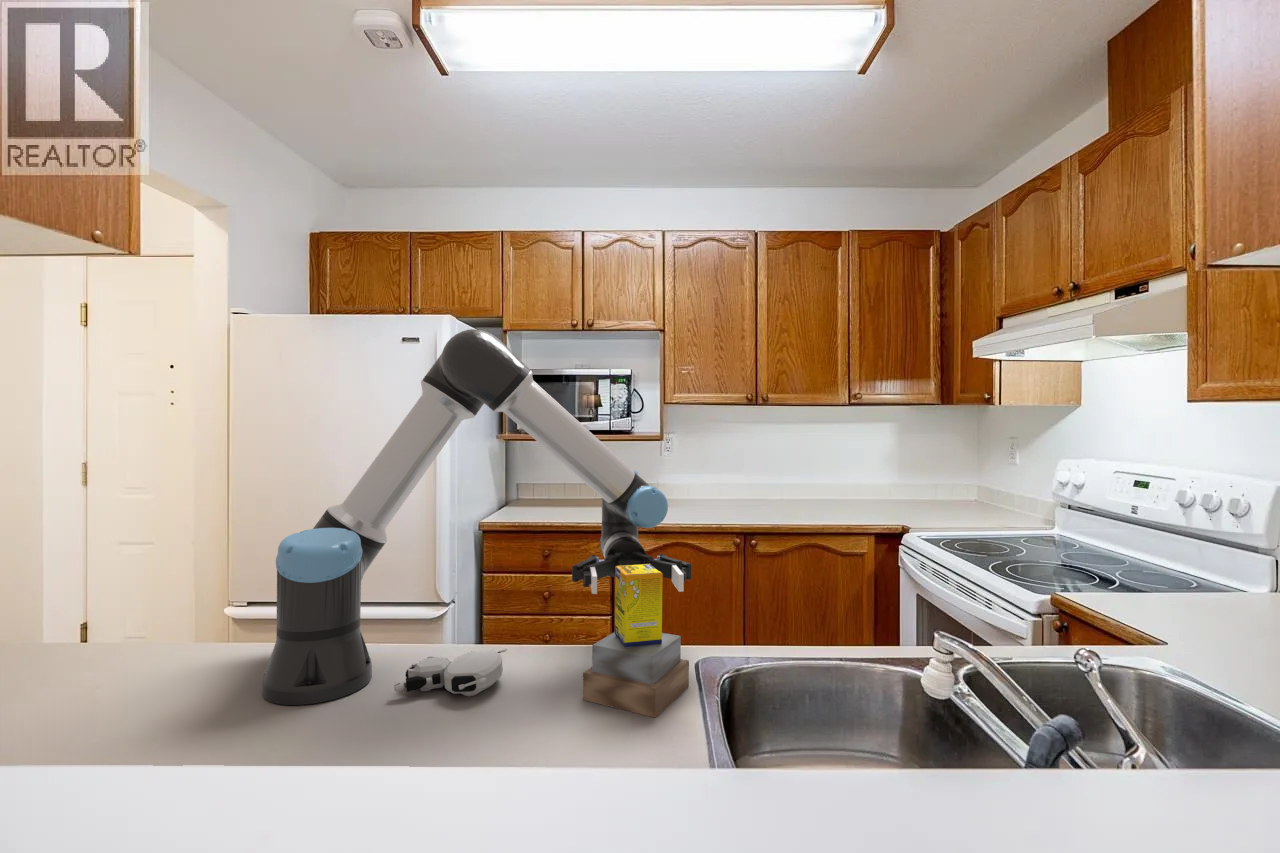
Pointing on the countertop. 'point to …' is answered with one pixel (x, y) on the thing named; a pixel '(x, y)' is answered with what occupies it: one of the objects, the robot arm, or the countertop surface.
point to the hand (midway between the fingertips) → (638, 584)
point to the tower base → (636, 691)
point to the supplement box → (638, 605)
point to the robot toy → (455, 673)
